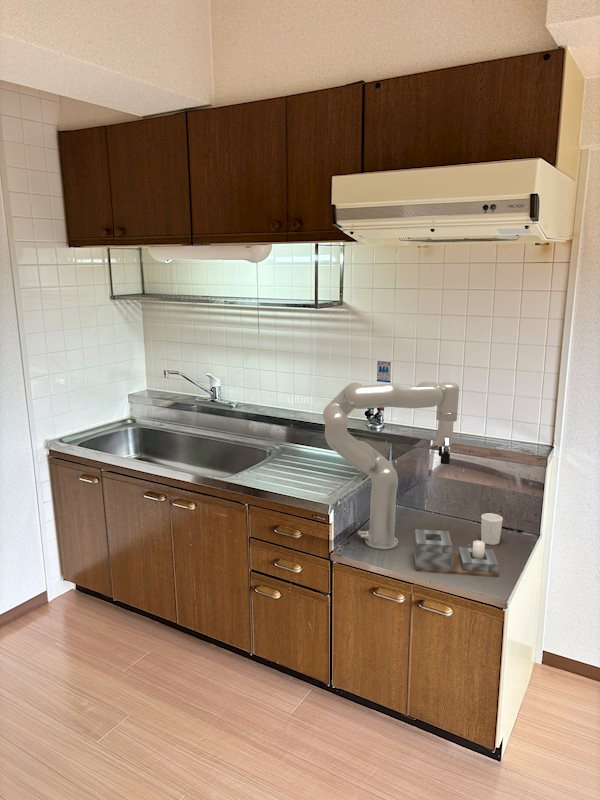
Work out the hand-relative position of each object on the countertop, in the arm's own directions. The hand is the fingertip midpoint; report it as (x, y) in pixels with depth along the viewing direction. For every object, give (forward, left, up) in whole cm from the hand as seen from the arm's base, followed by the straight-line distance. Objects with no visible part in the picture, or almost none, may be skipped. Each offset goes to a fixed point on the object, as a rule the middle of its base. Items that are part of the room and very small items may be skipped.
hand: (443, 459), depth 231 cm
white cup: (+20, +3, -33) cm, 39 cm away
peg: (+12, -19, -32) cm, 39 cm away
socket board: (+4, -19, -33) cm, 38 cm away
